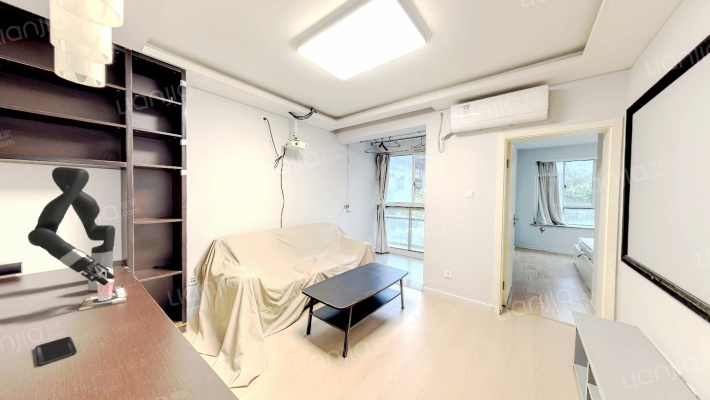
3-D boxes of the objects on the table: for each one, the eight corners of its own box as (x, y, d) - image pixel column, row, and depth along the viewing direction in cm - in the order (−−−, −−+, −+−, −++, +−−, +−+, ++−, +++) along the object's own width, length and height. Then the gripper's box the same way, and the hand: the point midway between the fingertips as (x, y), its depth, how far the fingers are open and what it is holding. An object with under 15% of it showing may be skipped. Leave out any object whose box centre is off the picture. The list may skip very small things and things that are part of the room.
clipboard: (87, 297, 121) (87, 295, 121) (127, 291, 131) (127, 288, 131) (78, 311, 108) (78, 308, 108) (124, 302, 117) (125, 300, 117)
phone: (38, 364, 73) (35, 346, 81) (38, 368, 73) (34, 349, 81) (77, 351, 79) (70, 335, 88) (77, 354, 79) (70, 338, 88)
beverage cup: (102, 302, 116) (103, 272, 116) (92, 300, 117) (93, 271, 117) (117, 297, 122) (118, 269, 122) (107, 296, 123) (108, 268, 123)
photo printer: (114, 288, 135) (115, 266, 135) (107, 290, 131) (108, 268, 131) (93, 288, 133) (94, 266, 133) (86, 291, 129) (86, 268, 129)
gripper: (78, 257, 109) (112, 279, 115) (92, 251, 122) (122, 271, 127) (60, 270, 107) (96, 292, 112) (76, 262, 119) (108, 282, 125)
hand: (110, 281), depth 120 cm, fingers open, 8 cm apart
